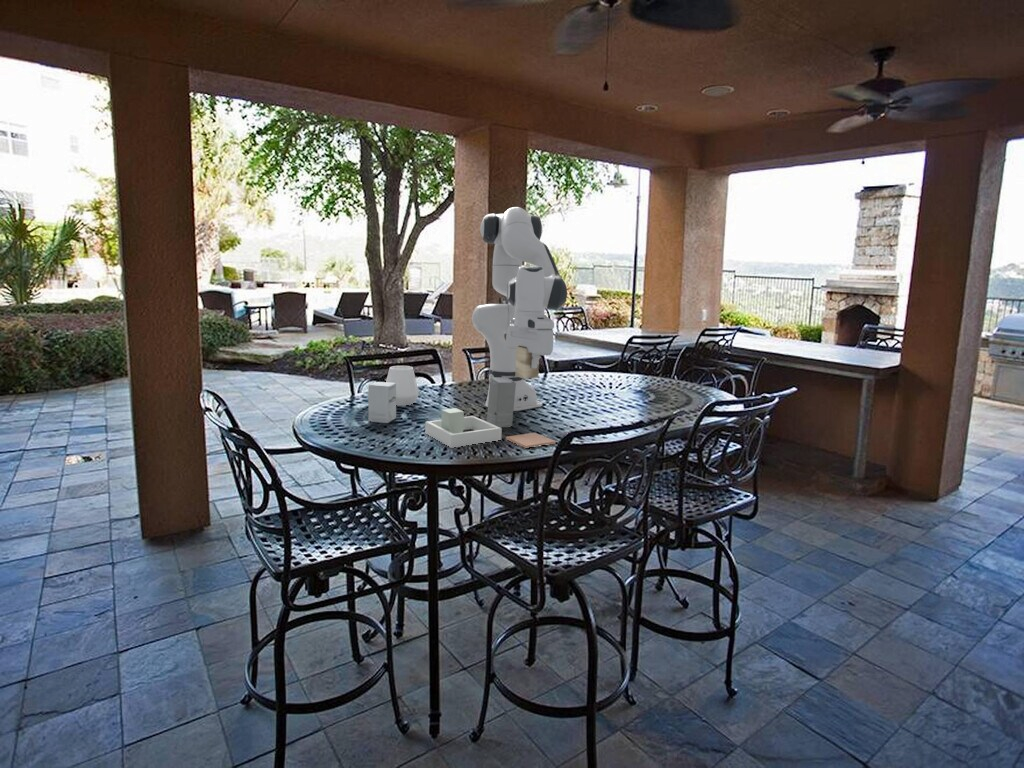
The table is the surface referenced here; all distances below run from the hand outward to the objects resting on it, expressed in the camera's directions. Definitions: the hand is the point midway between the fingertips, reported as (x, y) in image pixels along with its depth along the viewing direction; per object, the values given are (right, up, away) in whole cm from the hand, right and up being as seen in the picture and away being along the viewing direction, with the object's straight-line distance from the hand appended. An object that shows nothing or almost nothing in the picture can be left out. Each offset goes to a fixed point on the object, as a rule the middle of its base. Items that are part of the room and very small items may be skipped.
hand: (527, 366), depth 188 cm
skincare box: (-9, -19, +24) cm, 32 cm away
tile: (+1, -23, +4) cm, 24 cm away
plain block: (-23, -22, +5) cm, 32 cm away
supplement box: (-49, -18, +25) cm, 57 cm away
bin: (-20, -22, +7) cm, 30 cm away
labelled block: (0, -3, +1) cm, 3 cm away
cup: (-47, -13, +50) cm, 70 cm away
